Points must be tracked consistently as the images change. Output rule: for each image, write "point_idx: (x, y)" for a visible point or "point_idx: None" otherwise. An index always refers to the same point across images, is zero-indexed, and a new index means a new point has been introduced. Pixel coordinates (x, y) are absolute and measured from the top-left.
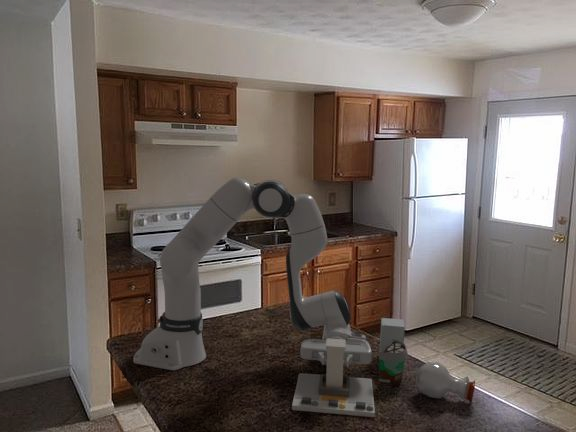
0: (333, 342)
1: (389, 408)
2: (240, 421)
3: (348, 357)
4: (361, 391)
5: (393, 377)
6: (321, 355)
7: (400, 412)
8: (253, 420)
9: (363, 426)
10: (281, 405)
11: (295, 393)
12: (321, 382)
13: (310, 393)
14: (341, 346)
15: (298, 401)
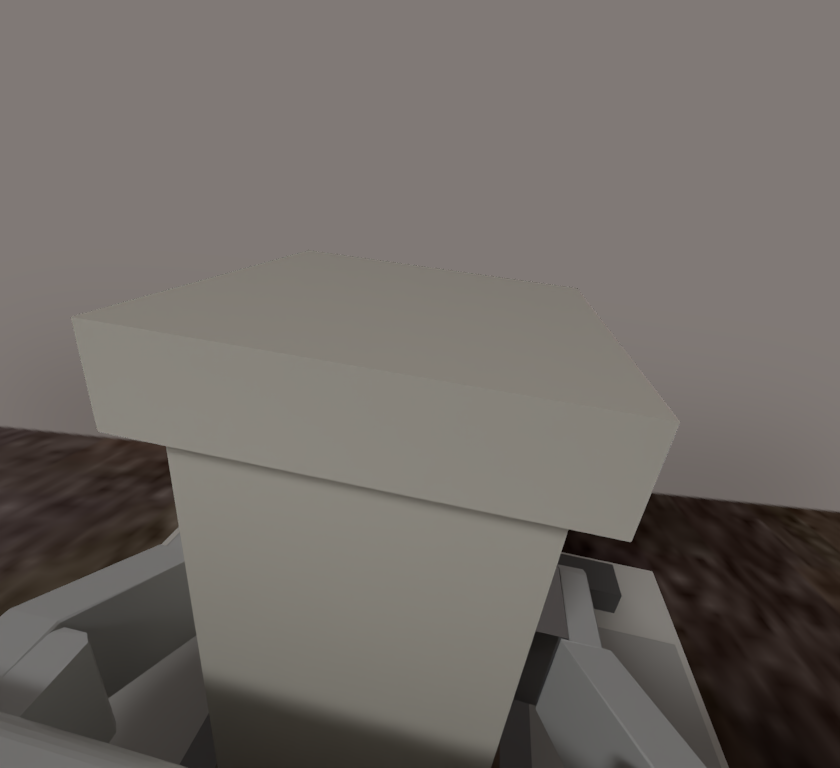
0: (459, 304)
1: (74, 551)
2: (818, 535)
3: (147, 567)
4: (121, 701)
5: None
6: (627, 682)
7: (53, 515)
8: (771, 535)
9: None
10: (728, 640)
11: (703, 718)
12: (509, 746)
13: None
14: (354, 260)
15: (632, 606)
